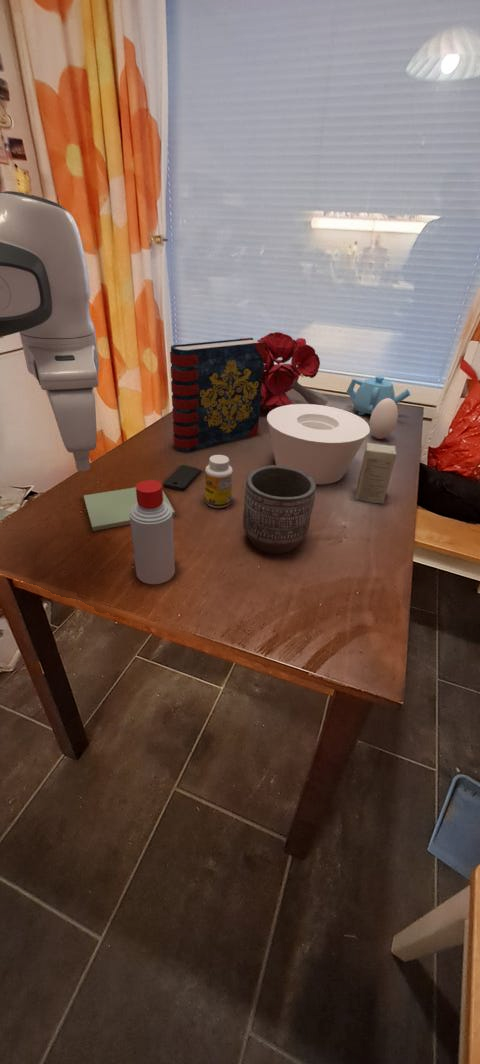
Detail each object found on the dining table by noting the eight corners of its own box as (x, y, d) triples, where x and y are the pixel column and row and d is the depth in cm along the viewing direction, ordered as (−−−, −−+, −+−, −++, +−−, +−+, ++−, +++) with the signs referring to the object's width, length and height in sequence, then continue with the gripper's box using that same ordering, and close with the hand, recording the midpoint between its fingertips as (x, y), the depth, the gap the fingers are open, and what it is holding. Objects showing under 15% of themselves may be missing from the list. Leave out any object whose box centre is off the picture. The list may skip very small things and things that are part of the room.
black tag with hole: (201, 468, 99) (183, 488, 92) (201, 471, 100) (183, 490, 92) (181, 464, 101) (162, 483, 93) (181, 467, 101) (162, 486, 93)
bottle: (141, 588, 67) (132, 503, 58) (132, 564, 72) (122, 481, 62) (179, 579, 69) (176, 496, 60) (168, 555, 74) (164, 475, 65)
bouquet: (297, 416, 153) (228, 371, 142) (341, 361, 140) (269, 306, 130) (305, 445, 136) (227, 396, 126) (355, 385, 124) (273, 324, 113)
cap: (140, 510, 61) (139, 494, 59) (135, 498, 63) (133, 481, 62) (165, 506, 62) (164, 490, 60) (159, 494, 65) (158, 478, 63)
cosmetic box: (382, 495, 96) (397, 445, 89) (383, 505, 93) (398, 454, 85) (354, 490, 97) (366, 441, 90) (353, 499, 94) (366, 449, 86)
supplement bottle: (201, 497, 90) (201, 454, 84) (225, 494, 92) (227, 451, 86) (209, 511, 86) (210, 466, 80) (234, 507, 88) (237, 463, 82)
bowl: (378, 475, 104) (391, 429, 97) (309, 502, 92) (319, 451, 85) (309, 440, 119) (316, 398, 112) (243, 459, 107) (246, 413, 100)
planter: (266, 515, 86) (273, 458, 79) (317, 539, 81) (329, 481, 73) (228, 540, 79) (231, 480, 71) (281, 570, 73) (290, 508, 65)
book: (181, 454, 107) (179, 351, 92) (168, 444, 111) (164, 344, 97) (259, 435, 120) (267, 342, 105) (244, 427, 124) (250, 336, 109)
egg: (382, 445, 119) (393, 404, 112) (360, 436, 123) (370, 397, 117) (396, 439, 123) (408, 399, 117) (374, 431, 128) (384, 392, 121)
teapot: (339, 415, 137) (346, 378, 130) (347, 400, 150) (354, 366, 143) (402, 427, 132) (413, 389, 125) (404, 410, 145) (415, 375, 138)
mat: (92, 531, 79) (92, 527, 78) (84, 499, 87) (83, 495, 87) (175, 515, 84) (175, 511, 84) (159, 487, 93) (159, 483, 92)
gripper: (33, 338, 60) (52, 430, 68) (39, 380, 45) (62, 490, 53) (79, 337, 63) (92, 426, 71) (99, 377, 48) (113, 483, 56)
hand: (79, 454), depth 62 cm, fingers open, 8 cm apart
